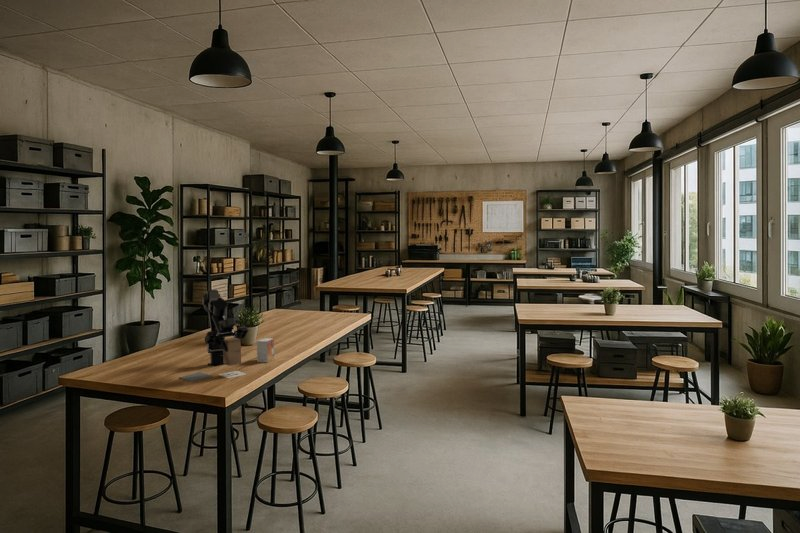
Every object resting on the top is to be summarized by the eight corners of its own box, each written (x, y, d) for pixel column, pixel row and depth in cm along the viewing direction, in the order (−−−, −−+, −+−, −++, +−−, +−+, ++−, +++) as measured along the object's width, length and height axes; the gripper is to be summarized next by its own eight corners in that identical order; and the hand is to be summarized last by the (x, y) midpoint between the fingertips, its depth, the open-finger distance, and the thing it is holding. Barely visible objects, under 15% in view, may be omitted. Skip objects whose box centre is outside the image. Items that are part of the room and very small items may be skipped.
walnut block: (223, 363, 231) (222, 339, 231) (235, 361, 235) (234, 337, 235) (229, 365, 227) (228, 341, 227) (241, 363, 231) (240, 339, 231)
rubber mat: (178, 378, 226) (178, 377, 226) (199, 373, 234) (199, 372, 234) (192, 382, 220) (192, 380, 220) (212, 376, 228) (212, 375, 228)
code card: (218, 374, 232) (218, 374, 232) (237, 371, 238) (237, 370, 238) (227, 378, 225) (227, 378, 225) (246, 374, 232) (246, 374, 232)
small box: (267, 362, 253) (267, 341, 253) (257, 362, 254) (256, 341, 254) (274, 358, 261) (274, 338, 260) (264, 358, 262) (263, 337, 262)
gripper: (206, 313, 226) (218, 342, 219) (245, 309, 239) (258, 335, 232) (199, 329, 232) (211, 357, 225) (238, 324, 245) (250, 350, 238)
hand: (233, 349), depth 230 cm, fingers closed on walnut block, 6 cm apart
